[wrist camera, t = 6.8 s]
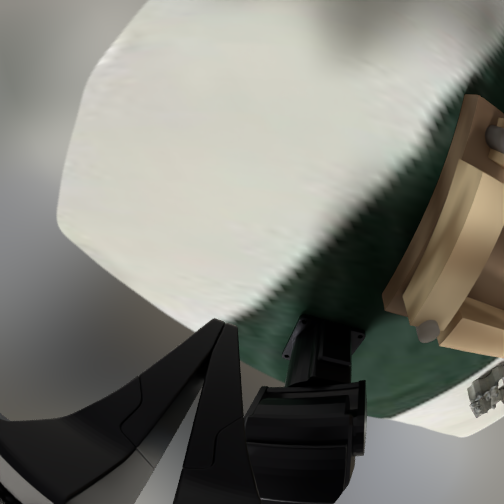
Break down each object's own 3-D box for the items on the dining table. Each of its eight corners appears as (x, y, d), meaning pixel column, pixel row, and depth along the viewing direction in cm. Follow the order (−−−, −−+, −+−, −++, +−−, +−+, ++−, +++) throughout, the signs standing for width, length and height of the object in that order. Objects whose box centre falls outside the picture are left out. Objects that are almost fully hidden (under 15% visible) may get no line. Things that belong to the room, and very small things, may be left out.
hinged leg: (428, 310, 17) (439, 345, 14) (397, 303, 18) (406, 339, 15) (491, 175, 11) (521, 195, 8) (459, 158, 12) (488, 175, 9)
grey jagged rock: (510, 382, 23) (516, 402, 19) (474, 404, 27) (478, 424, 23) (507, 357, 20) (515, 381, 17) (463, 384, 24) (468, 409, 21)
